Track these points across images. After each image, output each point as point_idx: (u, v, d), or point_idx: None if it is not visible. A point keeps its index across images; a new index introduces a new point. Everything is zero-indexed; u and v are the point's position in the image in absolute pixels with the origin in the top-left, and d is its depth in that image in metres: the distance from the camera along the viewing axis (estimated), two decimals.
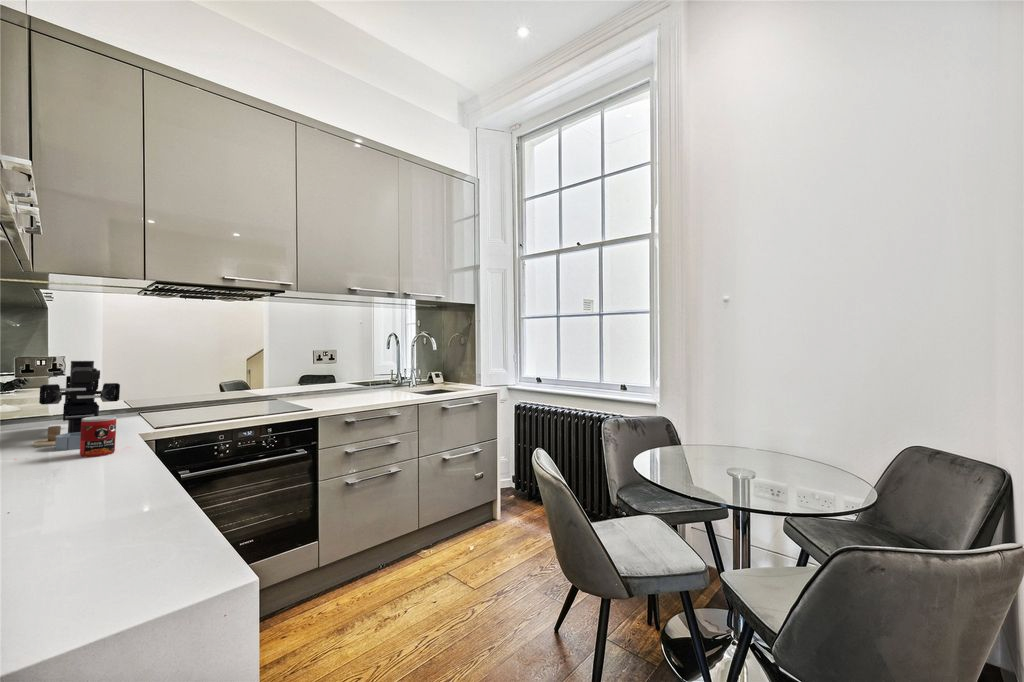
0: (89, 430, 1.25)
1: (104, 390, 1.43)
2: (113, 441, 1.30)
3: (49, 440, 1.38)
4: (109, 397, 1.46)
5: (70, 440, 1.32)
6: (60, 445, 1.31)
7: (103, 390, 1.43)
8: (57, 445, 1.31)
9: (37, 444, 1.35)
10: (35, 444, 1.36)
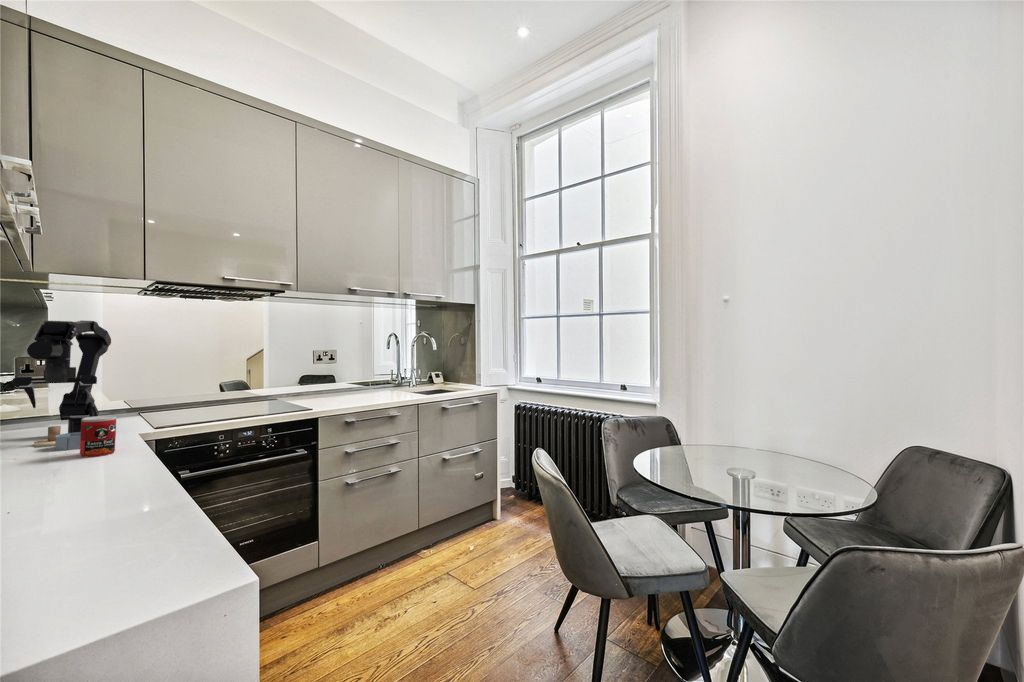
0: (89, 430, 1.25)
1: (79, 395, 1.43)
2: (113, 441, 1.30)
3: (49, 440, 1.38)
4: None
5: (70, 440, 1.32)
6: (60, 445, 1.31)
7: (78, 395, 1.43)
8: (57, 445, 1.31)
9: (37, 444, 1.35)
10: (35, 444, 1.36)
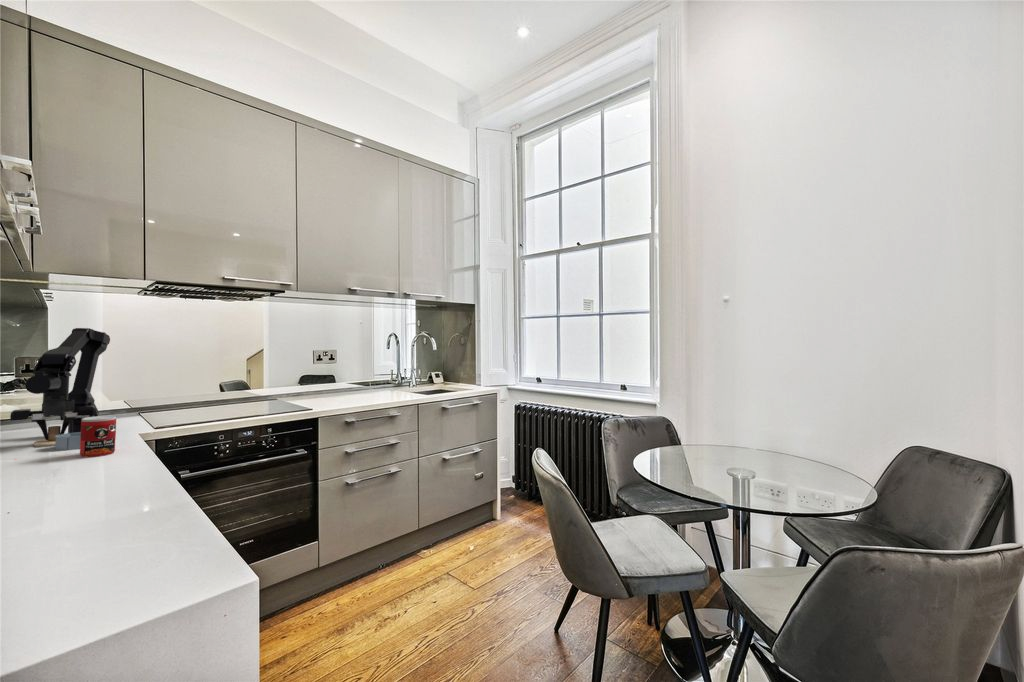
0: (89, 430, 1.25)
1: (64, 427, 1.41)
2: (113, 441, 1.30)
3: (49, 440, 1.38)
4: None
5: (70, 440, 1.32)
6: (60, 445, 1.31)
7: (63, 427, 1.40)
8: (57, 445, 1.31)
9: (37, 444, 1.35)
10: (35, 444, 1.36)
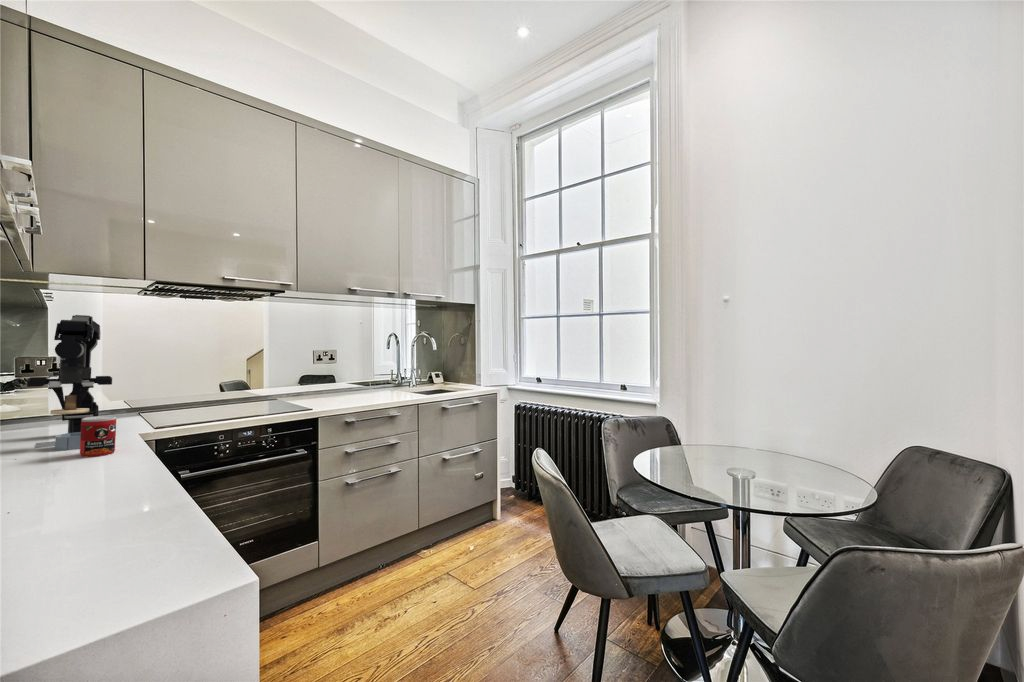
0: (89, 430, 1.25)
1: (81, 396, 1.37)
2: (113, 441, 1.30)
3: (66, 409, 1.35)
4: None
5: (70, 440, 1.32)
6: (60, 445, 1.31)
7: (80, 396, 1.37)
8: (57, 445, 1.31)
9: (54, 412, 1.32)
10: (52, 412, 1.32)
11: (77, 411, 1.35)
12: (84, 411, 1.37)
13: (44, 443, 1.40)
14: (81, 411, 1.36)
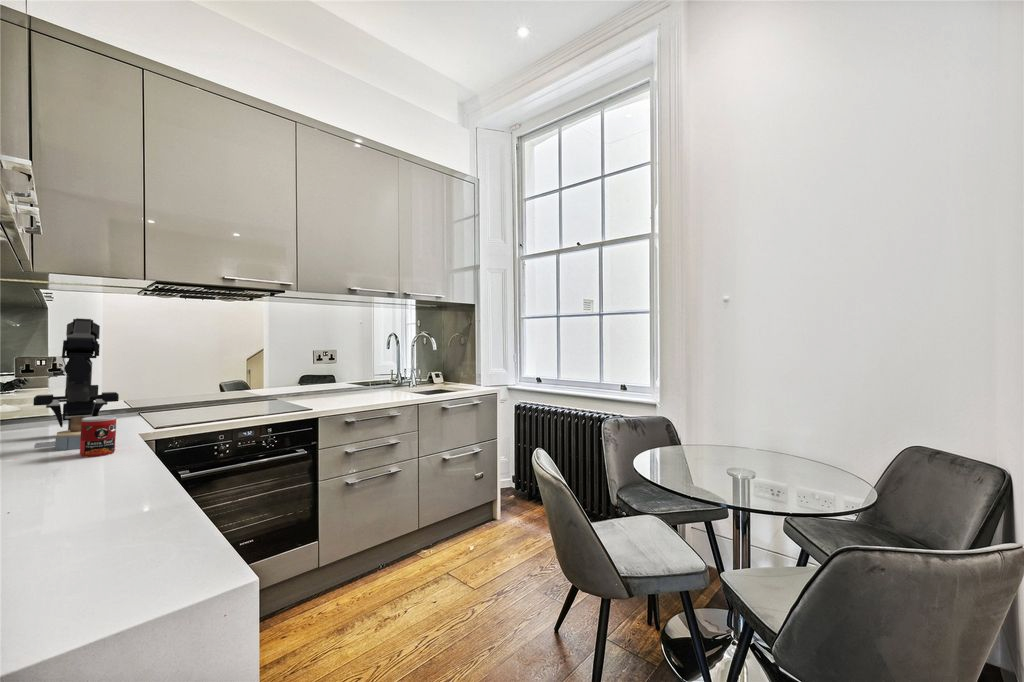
0: (89, 430, 1.25)
1: (95, 413, 1.38)
2: (113, 441, 1.30)
3: (72, 431, 1.34)
4: None
5: (70, 440, 1.32)
6: (60, 445, 1.31)
7: (94, 413, 1.38)
8: (57, 445, 1.31)
9: (60, 435, 1.31)
10: (58, 435, 1.32)
11: None
12: None
13: (44, 443, 1.40)
14: None
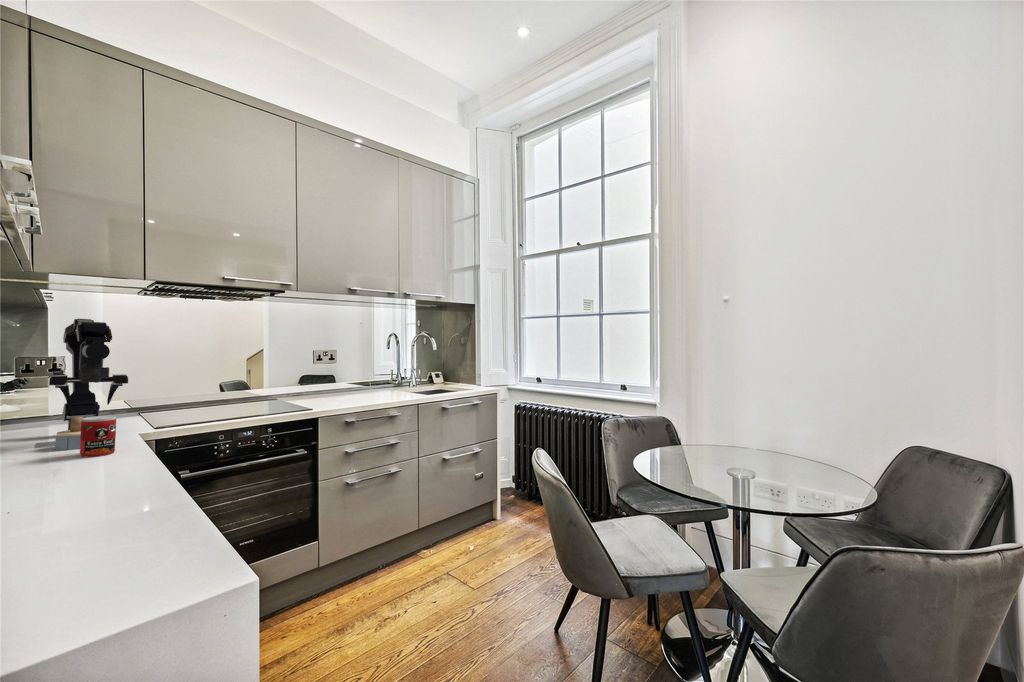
0: (89, 430, 1.25)
1: (111, 394, 1.47)
2: (113, 441, 1.30)
3: (72, 431, 1.34)
4: None
5: (70, 440, 1.32)
6: (60, 445, 1.31)
7: (110, 394, 1.47)
8: (57, 445, 1.31)
9: (60, 435, 1.31)
10: (58, 435, 1.32)
11: None
12: None
13: (44, 443, 1.40)
14: None
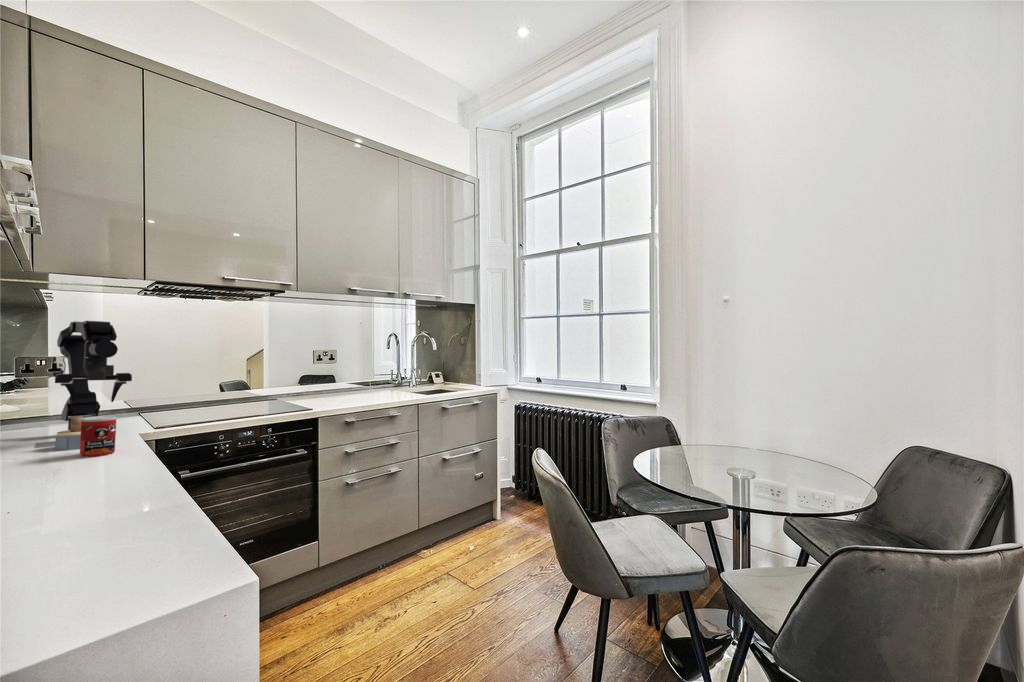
0: (89, 430, 1.25)
1: (115, 391, 1.50)
2: (113, 441, 1.30)
3: (72, 431, 1.34)
4: None
5: (70, 440, 1.32)
6: (60, 445, 1.31)
7: (114, 391, 1.50)
8: (57, 445, 1.31)
9: (60, 435, 1.31)
10: (58, 435, 1.32)
11: None
12: None
13: (44, 443, 1.40)
14: None
